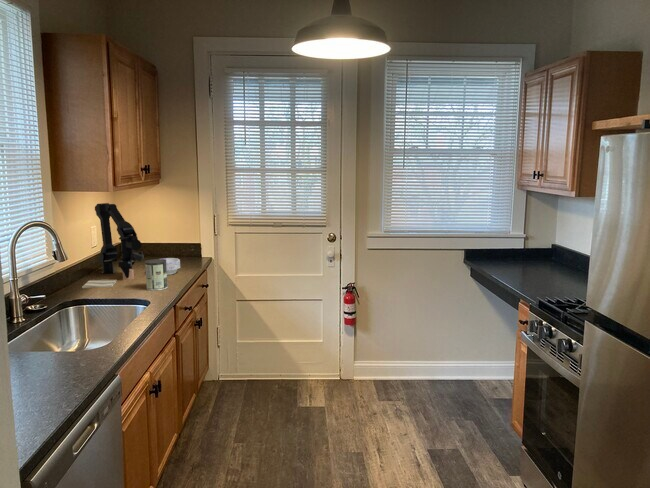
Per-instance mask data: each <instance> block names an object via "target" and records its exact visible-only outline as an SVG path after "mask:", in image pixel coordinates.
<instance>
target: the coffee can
mask: <svg viewBox="0 0 650 488" xmlns="http://www.w3.org/2000/svg"><path fill="white" fill-rule="evenodd" d="M144 264H145V268H144V269H145V282H146V290H147V291H152V292H153V291H154V292H155V291H162V290H166V289H168V275H167V268H166V260H164V259H163V258H155V259H148V260H145V261H144Z"/></svg>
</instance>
